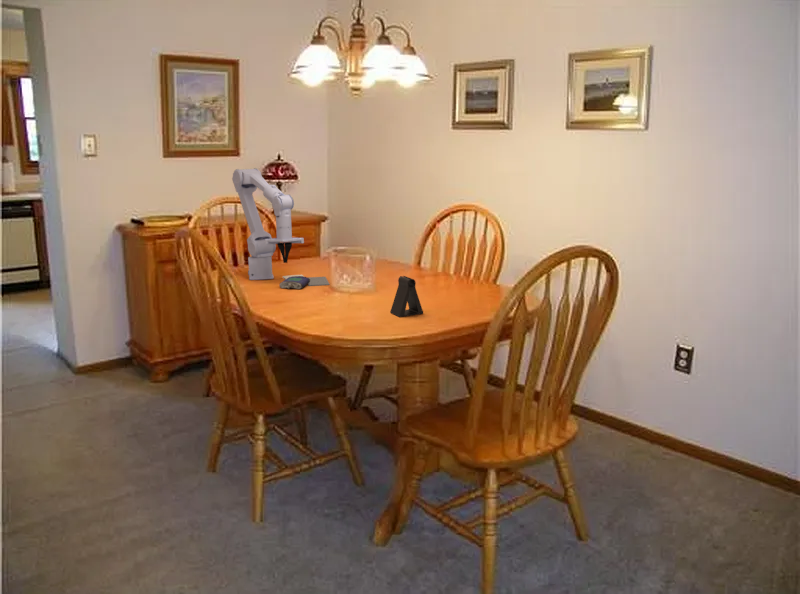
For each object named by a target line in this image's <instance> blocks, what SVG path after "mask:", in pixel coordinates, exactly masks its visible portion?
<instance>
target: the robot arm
mask: <svg viewBox="0 0 800 594" xmlns="http://www.w3.org/2000/svg"><path fill="white" fill-rule="evenodd" d="M231 179H232V183H233V185H234V189H235V192H236V193H237V195H238V197H239V200H240V204H241V207H242V210H243V213H244V217H245V220H246V223H247V225H248V228H249V231H250V234H249V236H248V238H247V239H246V242H247V251H248V253H249V255H250V256H248V260H247V261H248V270H247V274H248V277H249V278H248V279H249V281H253V280H254V281H256V280H273V279H275V276H274V274H273V263H272V262H273V261H272V259H273V258H272V256H274V253H275V252H276V248H277V247H278V249H279V251H280V252H279V253H281V257H282V262H283V264H287V263H288V259H289V254H290V251H291V250H292V248H293V247H292V246H293V244H304V243H305V240H304V237H293V234H292V233H293V232H292V231H293V229H292V228H293V227H292V210H293V209H294V208H295V207H294V206H295V203H294V202H295V201H294V198H293V197H292V195H291V194H285V193H283V191H281V190H280V189H279V188H278V187H277V186H276V184H269V183H268V181H266V179H265V178H264V177H263V176H262V172H261V170H259V168H256V167H255V168H245V169H244V168H241V169H240V168H237V169H235V170H234V171H233V173H232V178H231ZM257 189H259V190H261V191H262V192H263V193H262V194H263V196H264V198H266V200H268V201H269V202H270V203H271V206H272V208H273V212H274V213H273V214H274V216H275V223H276V224H275V226H276V229H275V230H276V237H272V235H271V233H269V232H268V231H266V230H265V229H264V226H263V222H262V220H261V217H260V214H259V210H258V208H257V206H256V201H255V199H254V196H253V193H254V192H255V191H256V190H257Z"/></svg>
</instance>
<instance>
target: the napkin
mask: <svg viewBox="0 0 800 594" xmlns="http://www.w3.org/2000/svg"><path fill="white" fill-rule="evenodd" d="M293 276H304V275H303V274H292V275H291V274H290V275H283V276H282V279H284V280H286V279H287V278H289V277H293Z"/></svg>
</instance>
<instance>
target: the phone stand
mask: <svg viewBox="0 0 800 594" xmlns="http://www.w3.org/2000/svg"><path fill="white" fill-rule="evenodd" d="M397 281H398V286H397V288H396V293H395V295H394V299H393V302H392V305H391V309H390V314H392V315H395V316H396V317H397V318H404V317H411V316H418V315H423V314H424V310H423V308H422V307H423V306H422V304H421V301H420V298H419V295H418V293H417V289H416V280H415V279H414V278H411V277H408V276H406V275H403V276H399V277H398V280H397ZM407 306H408V308H407Z"/></svg>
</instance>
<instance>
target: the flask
mask: <svg viewBox="0 0 800 594" xmlns="http://www.w3.org/2000/svg"><path fill="white" fill-rule="evenodd" d="M309 282H310V279H309V278H307V276H304V275H303V276H293V277H289V278H287V279H286V280H285V279H284V280H283V281H282V282H280V283H279V288H280V289H295V290H302V289H303V288H304V287H305V286H307V285H308V283H309Z"/></svg>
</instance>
